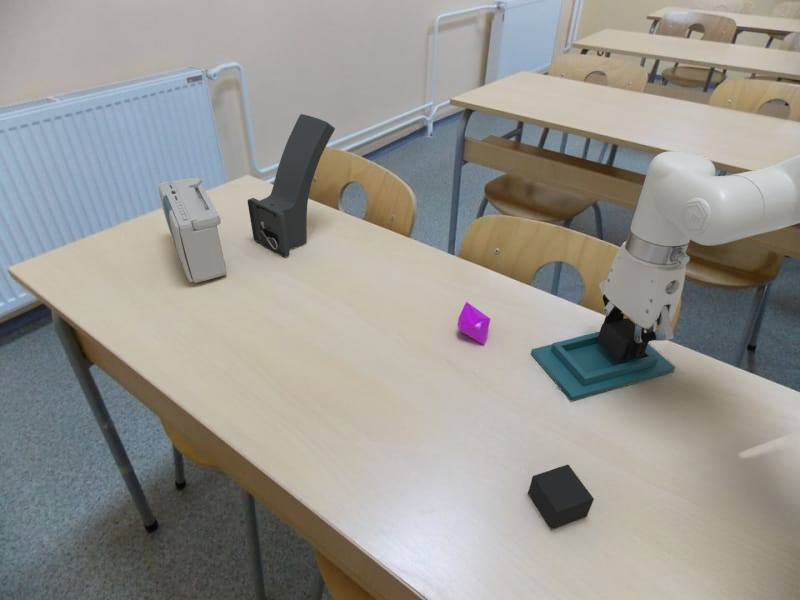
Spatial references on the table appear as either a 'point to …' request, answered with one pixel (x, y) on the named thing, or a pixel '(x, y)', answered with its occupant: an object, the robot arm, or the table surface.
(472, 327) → the crystal
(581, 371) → the dock
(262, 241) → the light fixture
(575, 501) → the black square block
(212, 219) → the radio
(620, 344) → the black block
